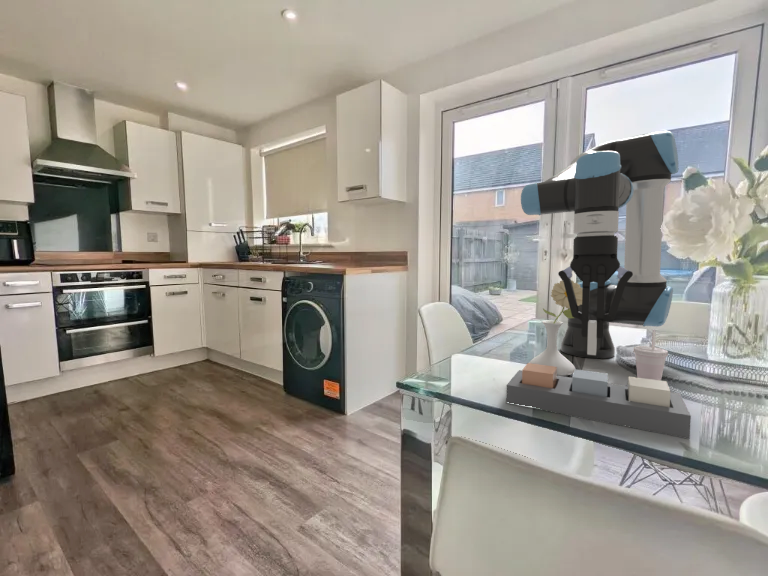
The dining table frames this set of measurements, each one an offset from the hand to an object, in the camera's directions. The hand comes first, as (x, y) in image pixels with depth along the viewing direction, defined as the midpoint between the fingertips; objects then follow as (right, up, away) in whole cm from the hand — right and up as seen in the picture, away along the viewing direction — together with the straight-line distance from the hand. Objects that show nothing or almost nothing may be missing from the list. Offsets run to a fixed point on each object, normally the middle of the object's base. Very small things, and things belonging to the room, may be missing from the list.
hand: (591, 353), depth 74 cm
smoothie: (+19, -11, +10) cm, 24 cm away
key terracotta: (-8, -9, +5) cm, 13 cm away
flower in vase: (+3, -10, +23) cm, 25 cm away
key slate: (0, -9, 0) cm, 9 cm away
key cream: (+8, -10, -5) cm, 13 cm away
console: (0, -11, 0) cm, 11 cm away
